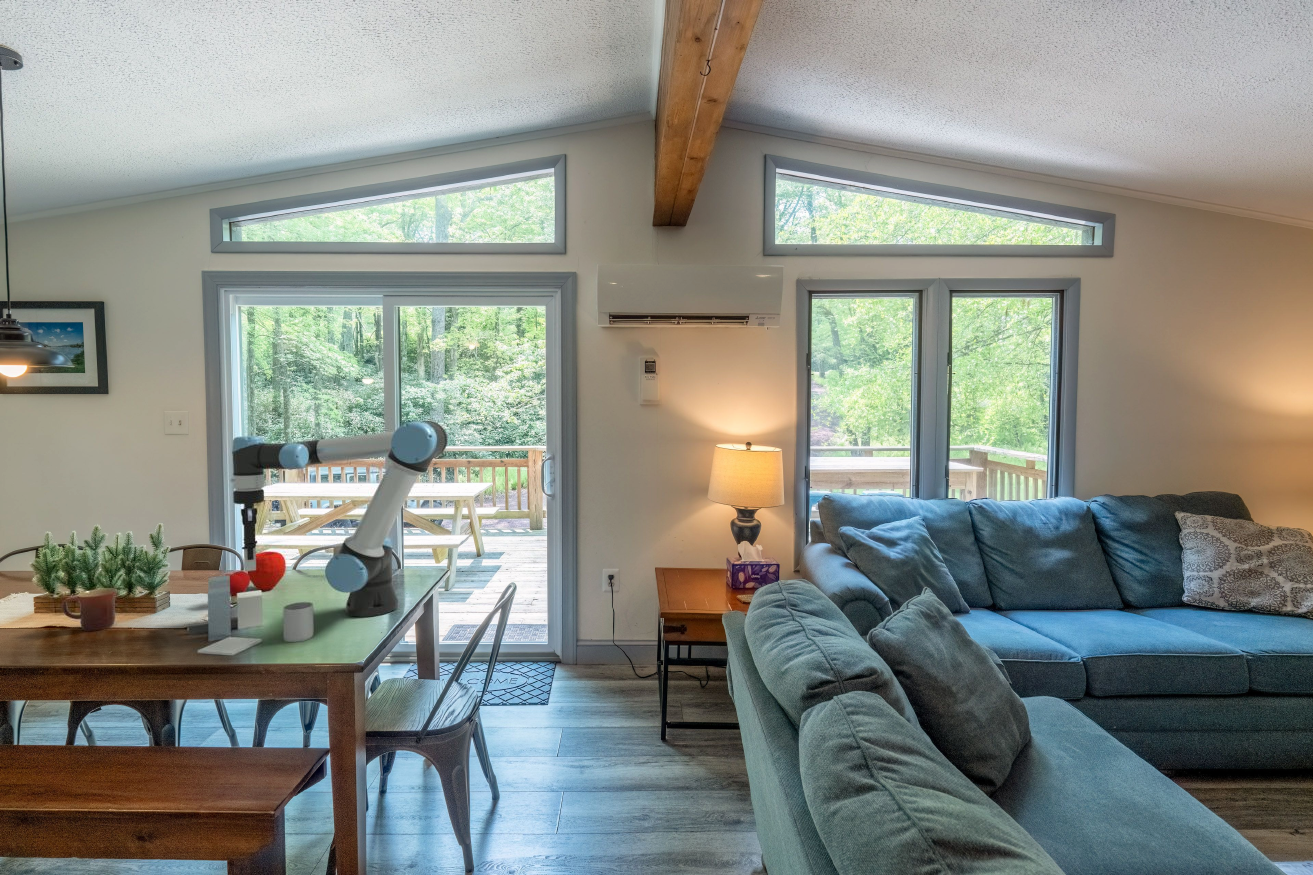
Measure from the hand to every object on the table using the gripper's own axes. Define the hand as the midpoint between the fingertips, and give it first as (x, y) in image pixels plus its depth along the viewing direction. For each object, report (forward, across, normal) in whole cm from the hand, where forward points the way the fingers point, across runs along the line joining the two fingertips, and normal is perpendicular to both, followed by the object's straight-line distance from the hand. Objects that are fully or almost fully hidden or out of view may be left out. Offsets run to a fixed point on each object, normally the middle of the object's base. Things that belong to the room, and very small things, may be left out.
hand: (250, 568), depth 184 cm
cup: (+17, +18, +11) cm, 27 cm away
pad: (+17, +18, -5) cm, 25 cm away
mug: (+17, -20, -38) cm, 46 cm away
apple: (+17, -40, +6) cm, 43 cm away
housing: (+17, 0, -8) cm, 18 cm away
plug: (+17, 0, -6) cm, 18 cm away
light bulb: (+17, -26, -3) cm, 31 cm away
